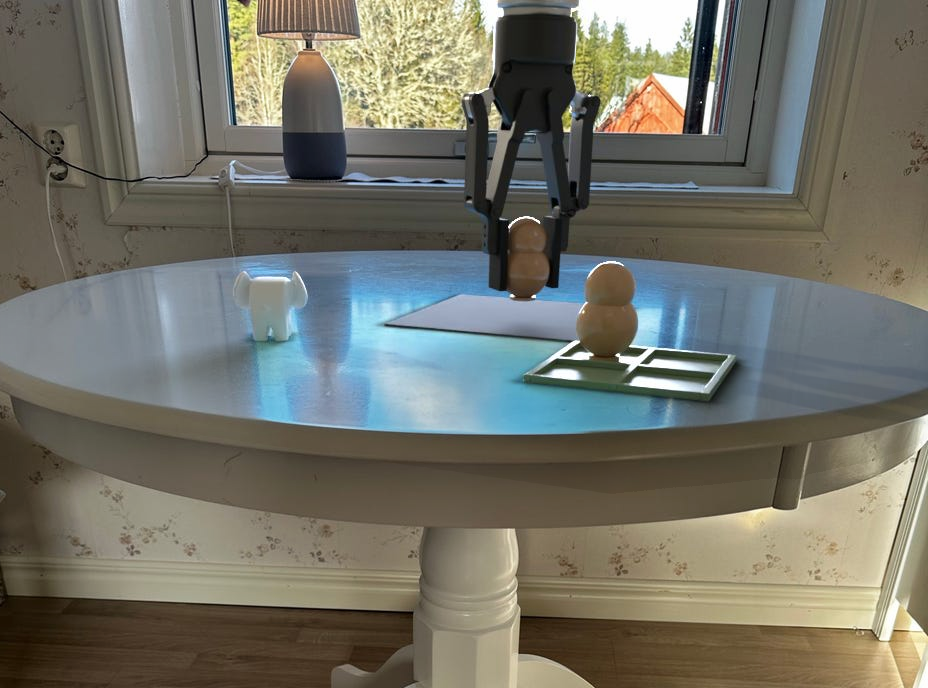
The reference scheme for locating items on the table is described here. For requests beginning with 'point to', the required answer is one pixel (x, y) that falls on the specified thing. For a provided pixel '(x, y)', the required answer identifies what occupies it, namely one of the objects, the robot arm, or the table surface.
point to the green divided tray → (637, 371)
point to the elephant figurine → (270, 303)
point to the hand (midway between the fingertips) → (523, 287)
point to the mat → (498, 317)
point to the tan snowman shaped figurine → (526, 259)
